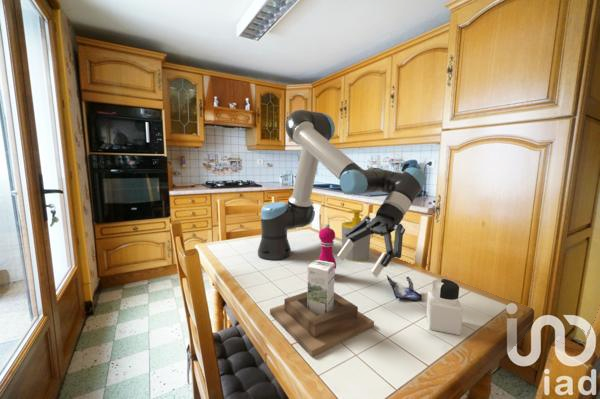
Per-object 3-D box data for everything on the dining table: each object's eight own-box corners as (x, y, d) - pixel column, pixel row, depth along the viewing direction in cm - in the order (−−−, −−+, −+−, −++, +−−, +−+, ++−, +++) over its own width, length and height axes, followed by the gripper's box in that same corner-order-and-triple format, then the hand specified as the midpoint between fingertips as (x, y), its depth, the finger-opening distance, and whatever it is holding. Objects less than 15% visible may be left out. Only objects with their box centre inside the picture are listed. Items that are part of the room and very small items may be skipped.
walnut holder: (269, 313, 76) (269, 297, 75) (325, 294, 87) (325, 280, 86) (311, 357, 59) (311, 336, 58) (373, 326, 70) (374, 308, 69)
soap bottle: (339, 251, 128) (340, 207, 125) (366, 251, 127) (368, 207, 124) (342, 261, 115) (344, 213, 112) (373, 262, 114) (375, 213, 111)
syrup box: (334, 312, 74) (335, 261, 72) (326, 323, 69) (327, 269, 67) (314, 307, 76) (315, 258, 74) (306, 318, 71) (306, 265, 69)
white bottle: (454, 320, 73) (458, 278, 72) (460, 336, 67) (465, 290, 65) (425, 315, 76) (429, 274, 74) (429, 330, 69) (432, 285, 67)
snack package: (422, 289, 91) (386, 282, 96) (424, 273, 89) (387, 266, 94) (420, 313, 81) (380, 303, 86) (422, 295, 79) (381, 286, 84)
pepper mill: (335, 281, 96) (336, 227, 93) (315, 279, 98) (315, 225, 95) (336, 273, 103) (337, 222, 100) (317, 271, 105) (318, 221, 102)
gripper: (435, 225, 75) (397, 289, 69) (368, 210, 96) (334, 258, 90) (426, 208, 71) (384, 275, 66) (358, 196, 92) (322, 246, 86)
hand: (355, 265), depth 78 cm, fingers open, 13 cm apart
